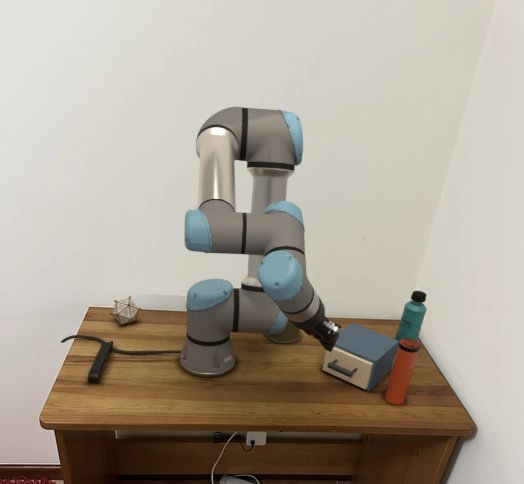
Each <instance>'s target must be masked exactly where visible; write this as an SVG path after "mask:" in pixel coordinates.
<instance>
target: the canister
mask: <svg viewBox="0 0 524 484" xmlns="http://www.w3.org/2000/svg"><path fill="white" fill-rule="evenodd" d="M299 333H300V329H298V328H296V327H295V326H294V325H293V324H292V323H291V322H290V321H289V319H288V322H287V324H286V327H285V329H284V330H283V331H282V332H281V333H278V334H265V336H266V337H267V338H268V339H269V340H270V341H272V342H274V343H280V344H293V343H295V342H297V341H298V340H299V338H300V334H299Z"/></svg>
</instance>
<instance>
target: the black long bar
mask: <svg viewBox="0 0 524 484" xmlns="http://www.w3.org/2000/svg"><path fill="white" fill-rule="evenodd" d="M103 340H104V341H103V343H101V345H100V347H99V350H98V352H97V354H96V356H95V359H94V360H93V363H92V364H91V367H90V369H89V371H88V374H87V382H88V383H90V384H100V382H101V381H102V378H103V375H104V373H105V370H106V367H107V365H108V363H109V362H110V361H109V360H110V359H111V356H112V353H113V351H112V348H115V346H114V341H113V340H105V339H103Z"/></svg>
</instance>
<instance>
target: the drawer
mask: <svg viewBox="0 0 524 484" xmlns="http://www.w3.org/2000/svg"><path fill="white" fill-rule="evenodd" d="M324 357H325V358H323V363H322V368H321V369H322V371H324V372H326V373H328V374H330V375H332V374H333V376H334V375H335V376H334V377H336V378H339V379H341V380H343V381H345V380H346V382H348V383H350V384H352V385H354V386H356V385H357V387H358V386H359V387H358V388H361V389H362V390H365V391H367V390H366V389H367V387H368V383H369V379H370V375H371V371H372V367H373V362H370V361H368V360H366V359H363V358H361V357H359V356H356V355H354V354H352V353H349V352H347V351H345V350H342V349H340V348H337V347H335V346H334V348H333V349H332V351H331V352H329V351H327V350H325V353H324Z"/></svg>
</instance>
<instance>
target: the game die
mask: <svg viewBox="0 0 524 484" xmlns="http://www.w3.org/2000/svg"><path fill="white" fill-rule="evenodd" d="M131 298H132V296H131V295H130V296H128V298H126V299H121V300H118V301H117V300H116V299H114V300H113V301H114V306H113V309H112V312H110V313H108V314H109V315H110V316H113V317H114V319H116V320H117V321H118V323H119V324H120V326H119V327H120V328H122V327H123V325H125V324H129V323H130V324H131V323H133V322H134V324H135V323H136V324H137V321H136V319H137V316H138V314H139V311H141V310H142V308H141V307H140V308H139V307H138V306H137V305H136V304H135V303H134V301H133V300H132V299H131Z"/></svg>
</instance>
